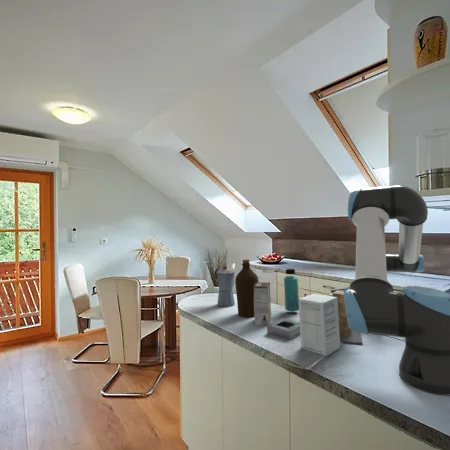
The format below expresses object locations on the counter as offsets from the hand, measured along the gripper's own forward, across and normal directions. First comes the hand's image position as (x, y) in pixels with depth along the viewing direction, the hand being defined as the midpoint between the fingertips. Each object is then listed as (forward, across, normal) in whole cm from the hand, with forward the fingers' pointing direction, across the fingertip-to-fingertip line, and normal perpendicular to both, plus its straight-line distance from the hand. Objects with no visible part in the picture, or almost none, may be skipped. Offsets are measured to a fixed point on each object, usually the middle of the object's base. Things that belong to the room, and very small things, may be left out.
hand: (347, 300), depth 119 cm
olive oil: (+6, +44, -12) cm, 46 cm away
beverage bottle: (-8, +29, -12) cm, 33 cm away
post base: (+16, +17, -11) cm, 26 cm away
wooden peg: (+6, 0, -11) cm, 12 cm away
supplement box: (+21, +1, -12) cm, 24 cm away
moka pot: (0, +64, -12) cm, 65 cm away
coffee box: (+11, +32, -12) cm, 35 cm away
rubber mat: (+6, 0, -11) cm, 13 cm away
